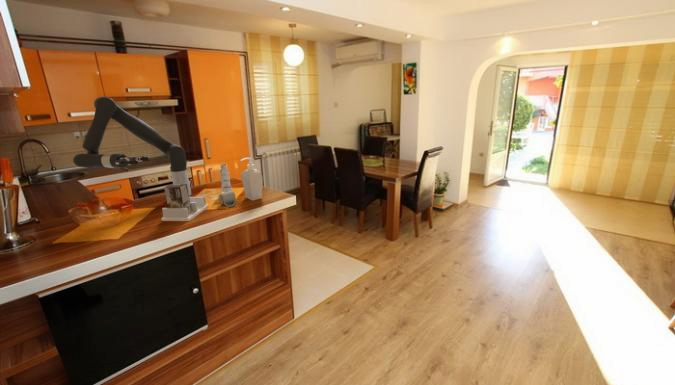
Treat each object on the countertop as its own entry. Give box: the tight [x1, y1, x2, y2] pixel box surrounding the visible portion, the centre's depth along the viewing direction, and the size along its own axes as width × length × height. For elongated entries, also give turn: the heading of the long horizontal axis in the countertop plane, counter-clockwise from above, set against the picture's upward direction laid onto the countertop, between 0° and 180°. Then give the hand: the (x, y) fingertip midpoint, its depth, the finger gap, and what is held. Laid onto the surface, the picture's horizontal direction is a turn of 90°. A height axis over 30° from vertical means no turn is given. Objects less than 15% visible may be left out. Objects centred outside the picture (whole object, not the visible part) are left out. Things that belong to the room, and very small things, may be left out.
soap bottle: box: [239, 156, 264, 201], centre depth 190 cm, size 12×10×26 cm
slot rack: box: [160, 196, 209, 222], centre depth 169 cm, size 21×15×6 cm
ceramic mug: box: [218, 189, 237, 208], centre depth 182 cm, size 11×8×8 cm
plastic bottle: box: [218, 163, 233, 193], centre depth 200 cm, size 6×7×20 cm
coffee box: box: [163, 183, 192, 214], centre depth 163 cm, size 9×6×16 cm
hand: (143, 160), depth 162 cm, fingers open, 8 cm apart
